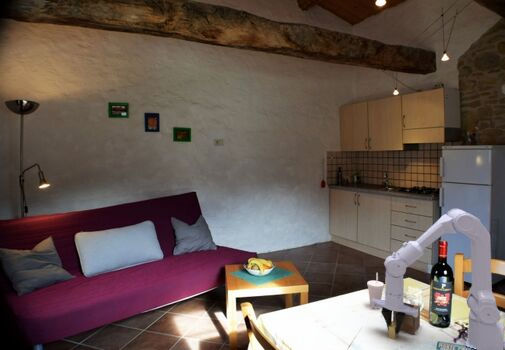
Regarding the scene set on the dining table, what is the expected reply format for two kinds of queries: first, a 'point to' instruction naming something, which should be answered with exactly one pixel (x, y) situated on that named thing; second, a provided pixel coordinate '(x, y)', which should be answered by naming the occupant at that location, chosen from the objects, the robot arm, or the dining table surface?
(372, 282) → the smoothie
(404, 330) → the box
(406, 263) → the robot arm
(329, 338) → the dining table surface
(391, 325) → the brass token
